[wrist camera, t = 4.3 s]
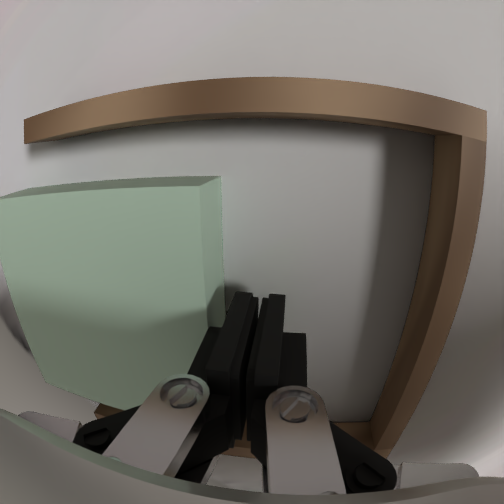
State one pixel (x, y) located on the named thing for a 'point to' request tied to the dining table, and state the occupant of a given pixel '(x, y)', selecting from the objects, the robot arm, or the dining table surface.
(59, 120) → the u-shaped wooden frame
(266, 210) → the dining table surface
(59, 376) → the cover plate
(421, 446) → the dining table surface
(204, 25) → the dining table surface
